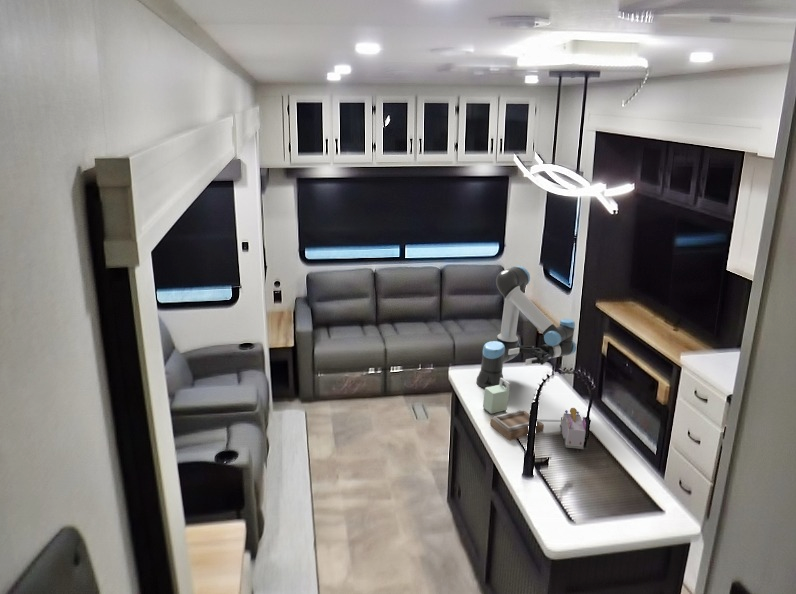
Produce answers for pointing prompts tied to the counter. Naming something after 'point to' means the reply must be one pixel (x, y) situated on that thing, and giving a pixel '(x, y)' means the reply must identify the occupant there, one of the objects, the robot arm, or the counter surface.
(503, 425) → the tray
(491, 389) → the trolley
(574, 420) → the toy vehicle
